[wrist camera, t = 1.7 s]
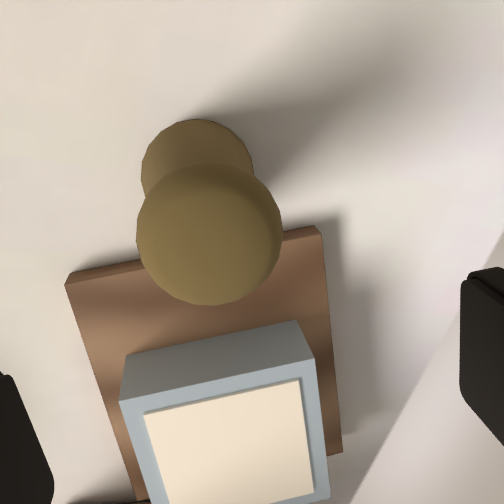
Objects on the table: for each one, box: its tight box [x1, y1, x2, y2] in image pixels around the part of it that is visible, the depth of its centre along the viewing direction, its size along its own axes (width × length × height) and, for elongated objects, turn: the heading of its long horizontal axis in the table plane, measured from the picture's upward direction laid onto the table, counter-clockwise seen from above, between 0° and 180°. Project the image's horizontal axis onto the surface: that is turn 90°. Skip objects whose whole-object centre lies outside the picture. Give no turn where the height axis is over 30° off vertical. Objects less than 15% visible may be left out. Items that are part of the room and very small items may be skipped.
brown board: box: [64, 226, 343, 501], centre depth 30 cm, size 16×14×2 cm
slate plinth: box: [118, 320, 331, 504], centre depth 28 cm, size 10×10×4 cm
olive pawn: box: [136, 119, 283, 306], centre depth 21 cm, size 6×6×11 cm
